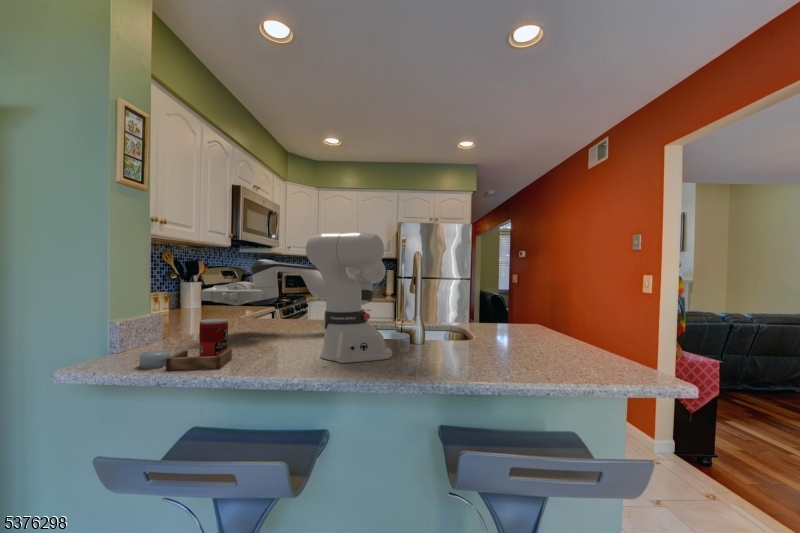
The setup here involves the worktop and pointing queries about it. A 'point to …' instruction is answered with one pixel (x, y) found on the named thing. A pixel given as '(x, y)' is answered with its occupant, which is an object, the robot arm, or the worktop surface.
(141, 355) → the grey rounded cylinder
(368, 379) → the worktop surface
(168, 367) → the bay
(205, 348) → the canned food
